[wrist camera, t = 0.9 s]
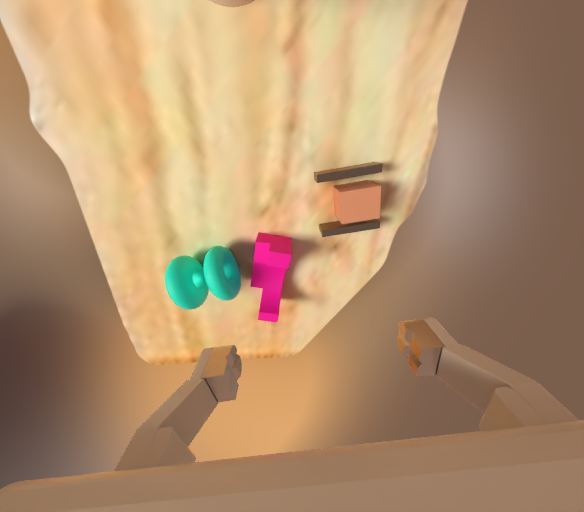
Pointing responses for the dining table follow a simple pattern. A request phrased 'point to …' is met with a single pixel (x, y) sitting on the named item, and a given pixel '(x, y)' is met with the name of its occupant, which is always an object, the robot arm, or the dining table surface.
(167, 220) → the dining table surface
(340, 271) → the dining table surface
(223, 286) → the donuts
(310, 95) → the dining table surface
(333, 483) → the robot arm
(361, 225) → the guide channel
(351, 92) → the dining table surface
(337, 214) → the terracotta block
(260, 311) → the toy block
